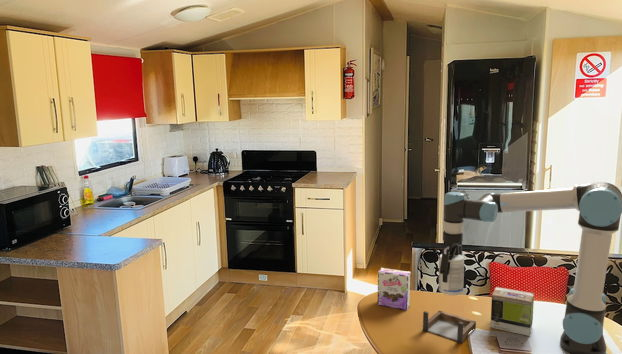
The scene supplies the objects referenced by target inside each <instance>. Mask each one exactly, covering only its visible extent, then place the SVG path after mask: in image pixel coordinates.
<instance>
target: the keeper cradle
mask: <svg viewBox="0 0 622 354" xmlns="http://www.w3.org/2000/svg"><path fill="white" fill-rule="evenodd" d="M422 314H423V315H422V316H423V317H422V332H424V333H431V334H434V335H437V336H440V337H443V338H445V339H449V340H452V341H455V342H456V343H458V344H463V343H464V341H465V340H466V339H467V338H468V337H469V336H468V333H469V332H470V331H471V330H473V329H476V327H477V326H476V325H477V321H475V320H472V319H468V318H465V317H463V316H459V315H455V314H452V313H449V312H445V311H442V310H437V312H436V313H435V314H433V315H432V316H431V317H430V318H429V311H423V313H422Z"/></svg>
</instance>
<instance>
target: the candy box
mask: <svg viewBox="0 0 622 354" xmlns="http://www.w3.org/2000/svg"><path fill="white" fill-rule="evenodd" d="M411 273H412V272H411V271H409V270H408V271H406V270H399V269H393V268H385V267H380V269H379V270H378V272H377V306H379V305H382V306H381V307H385V306H386V307H385V308H391V309H397V310H398V309H399V310H403V311H408V309H409V308H410V306H409V305H410V303H411V302H410V299H411V298H410V294H411Z"/></svg>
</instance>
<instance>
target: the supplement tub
mask: <svg viewBox="0 0 622 354" xmlns="http://www.w3.org/2000/svg"><path fill="white" fill-rule="evenodd" d="M441 259H442V253H441V254H440V255H439V259H438V291H439V292H440V293H442V294H443V295H447V296H458V295H462V294H463V292H464V284H465V281H464V277H465V260H464V259H465V258H464V255H463V254H462V255H460V254H459V255H454V258H452V260H449V262H450V270H449V274H450V282H449V290H444V289H442V274H440V266H441Z"/></svg>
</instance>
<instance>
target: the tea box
mask: <svg viewBox="0 0 622 354" xmlns="http://www.w3.org/2000/svg"><path fill="white" fill-rule="evenodd" d="M534 301H535V293H534V292H529V291H524V290H516V289H511V288H505V287H499V286H496V287H495V288H494V291H493V292H492V294H491V305H490V306H491V308H490V309H491V310H490V328H492V329H497V330H501V331H504V332H510V333H514V334H519V335H523V336H528V337H530V335H531V332H532V331H531V330H532V327H533V321H534Z"/></svg>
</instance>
